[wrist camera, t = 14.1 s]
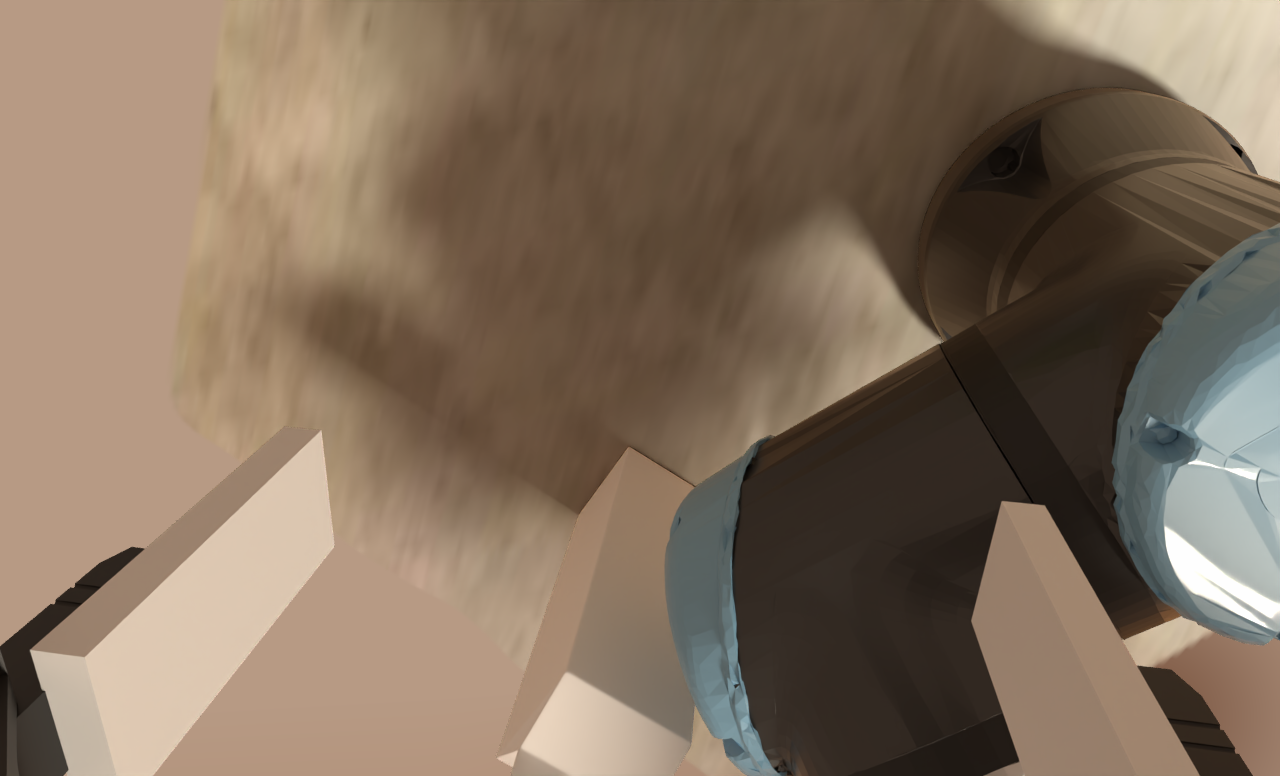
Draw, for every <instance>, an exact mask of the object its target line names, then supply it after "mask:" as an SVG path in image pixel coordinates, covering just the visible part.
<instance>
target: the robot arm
mask: <svg viewBox="0 0 1280 776" xmlns="http://www.w3.org/2000/svg"><path fill="white" fill-rule="evenodd" d="M918 277H919V284H920V289H921V293H922V297H923V300H924V303H925V306H926V309H927V311H928V313H929V315H930V318H931V320H932V321H933V323H934V325H935V327H936V328H937V330H938V332H939V334H940V335H941V337H942V339H943V340H944V342H943V343H941V345H940V344H937V345H936V346H934V347H932V348H930V349H929V350H927V351H925V352H923V353H922V354H920V355H918V356H916V357H915V358H913V359H911V360H909V361H908V362H906V363H904V364H902V365H900V366H899V367H897V368H895V369H893V370H892V371H890V372H888V373H886V374H885V375H883V376H881V377H879V378H878V379H876V380H874V381H872V382H871V383H869V384H867V385H865V386H864V387H862V388H860V389H858V390H857V391H855V392H853V393H851V394H850V395H848V396H846V397H844V398H842V399H841V400H839V401H837V402H835V403H834V404H832V405H830V406H828V407H827V408H825V409H823V410H821V411H820V412H818V413H816V414H814V415H813V416H811V417H809V418H807V419H806V420H804V421H802V422H800V423H799V424H797V425H795V426H793V427H792V428H790V429H788V430H786V431H784V432H783V433H781V434H779V435H777V436H776V437H774V436H771V435H769V436H767V437H764V438H762V439H760V440H758V441H757V442H756V443H754V444H753V445H752V446H750V448H749V449H748V450H747V451H746V453H745V454H744V455H743V456H742V457H740V458H739V459H737V460H735V461H734V462H732V463H731V464H729V465H728V466H726V467H725V468H723V469H722V470H720V471H719V472H717V473H715V474H714V475H712V476H711V477H709V478H708V479H706V480H705V481H703V482H702V483H700V484H699V485H697V486H696V487H695V488H694V489H693V490H691V491H690V493H689V494H688V495H687V496H686V497H685V498H684V500H683V501H682V502H681V504H680V506H679V507H678V509H677V511H676V513H675V516H674V519H673V522H672V525H671V528H670V539H669V541H668V543H667V546H666V552H665V565H664V577H665V594H666V604H667V611H668V618H669V622H670V627H671V632H672V636H673V641H674V645H675V648H676V652H677V656H678V660H679V663H680V666H681V669H682V672H683V675H684V678H685V681H686V684H687V686H688V689H689V691H690V694H691V696H692V699H693V701H694V703H695V705H696V707H697V709H698V711H699V713H700V715H701V717H702V719H703V721H704V723H705V724H706V726H707V728H708V730H709V731H710V733H711V735H712V736H713V737H715V738H718V739H723V744H724V749H725V753H726V756H727V757H728V758H729V760H730V761H731V762H732V763H733V764H734V765H735V766H736V767H737V768H738V769H739V770H740V771H741V772H743V773H744V774H745V775H747V776H1253V775H1252V774H1251V772H1250V771H1249V769H1248V768H1247V766H1246V764H1245V763H1244V761H1243V760H1242V758H1241V757H1240V755H1239V754H1235V747H1234V746H1233V744H1232V743H1231V741H1230V740H1229V738H1228V736H1227V735H1226V733H1225V732H1224V730H1220V724H1219V722H1218V721H1217V719H1216V718H1215V716H1214V715H1213V713H1212V712H1211V710H1210V708H1209V707H1208V705H1207V704H1206V702H1205V701H1204V699H1203V698H1202V696H1201V695H1200V694H1199V693H1197V692H1196V691H1195V690H1194V689H1193V688H1192V687H1191V686H1189V685H1188V684H1187V683H1186V682H1185V681H1184V680H1182V679H1181V678H1180V677H1179V676H1178V675H1176V673H1175V672H1173V671H1172V670H1169V669H1161V668H1153V667H1144V666H1137V665H1136V664H1135V662H1134V660H1133V658H1132V657H1131V655H1130V653H1129V651H1128V650H1127V648H1126V646H1125V644H1124V643H1123V641H1122V639H1124V640H1125V639H1126V638H1129V637H1131V636H1134V635H1136V634H1139V633H1141V632H1144V631H1146V630H1148V629H1151V628H1153V627H1156V626H1158V625H1161V624H1163V623H1165V622H1168V621H1171V620H1173V619H1176V618H1178V617H1180V616H1182V617H1184V618H1186V619H1189V620H1192V621H1195V622H1197V624H1198V625H1201V626H1203V627H1205V628H1207V629H1209V630H1211V631H1213V632H1215V633H1217V634H1219V635H1222V636H1224V637H1227V638H1230V639H1233V640H1236V641H1239V642H1241V643H1246V644H1252V645H1265V644H1267V643H1268V642H1269V641H1270V640H1272V639H1273V638H1275V639H1278V640H1280V182H1278V181H1275V180H1272V179H1269V178H1266V177H1263V176H1260V175H1258V174H1257V171H1256V169H1255V167H1254V165H1253V164H1252V162H1251V160H1250V158H1249V157H1248V155H1247V154H1246V152H1245V151H1244V149H1243V148H1242V146H1241V145H1240V144H1239V143H1238V141H1237V140H1236V139H1235V138H1234V137H1233V136H1232V135H1231V134H1230V133H1229V132H1228V131H1227V130H1226V129H1225V128H1224V127H1222V126H1221V125H1220V124H1219V123H1218V122H1216V121H1215V120H1213V119H1212V118H1210V117H1209V116H1207V115H1206V114H1204V113H1203V112H1201V111H1199V110H1197V109H1196V108H1194V107H1191V106H1189V105H1187V104H1185V103H1183V102H1180V101H1177V100H1174V99H1171V98H1167V97H1164V96H1160V95H1156V94H1152V93H1147V92H1143V91H1138V90H1132V89H1124V88H1089V89H1082V90H1075V91H1070V92H1065V93H1062V94H1058V95H1054V96H1051V97H1048V98H1045V99H1042V100H1040V101H1037V102H1035V103H1033V104H1030V105H1028V106H1026V107H1024V108H1022V109H1020V110H1018V111H1016V112H1014V113H1012V114H1011V115H1009V116H1007V117H1006V118H1004V119H1002V120H1001V121H999V122H998V123H997V124H995V125H994V126H992V127H991V128H990V129H988V130H987V131H986V132H985V133H983V134H982V135H981V136H980V137H979V138H978V139H976V140H975V141H974V142H973V143H972V144H971V145H970V146H969V147H968V148H967V149H966V150H965V151H964V152H963V153H962V154H961V156H960V157H959V158H958V159H957V160H956V161H955V163H954V164H953V165H952V167H951V168H950V169H949V171H948V172H947V174H946V175H945V177H944V178H943V180H942V181H941V183H940V185H939V187H938V188H937V190H936V192H935V194H934V196H933V198H932V200H931V202H930V205H929V207H928V210H927V213H926V215H925V219H924V222H923V225H922V230H921V234H920V239H919V247H918ZM333 548H334V537H333V529H332V520H331V511H330V502H329V493H328V485H327V476H326V467H325V458H324V449H323V441H322V432H321V430H315V429H305V428H296V427H286V426H285V427H283V428H282V429H281V430H280V431H279V432H278V433H277V434H275V435H274V436H273V437H272V438H271V439H270V440H269V441H267V442H266V443H265V444H264V445H263V446H262V447H261V448H259V449H258V450H257V451H256V452H255V453H254V454H253V455H251V456H250V457H249V458H248V459H247V460H246V461H245V462H243V463H242V464H241V465H240V466H239V467H238V468H237V469H236V470H234V472H232V473H231V474H230V475H229V476H228V477H227V478H225V479H224V480H223V481H222V482H221V483H220V484H219V485H217V486H216V487H215V488H214V489H213V490H212V491H210V492H209V493H208V494H207V495H206V496H205V497H204V498H203V499H201V500H200V501H199V502H198V503H197V504H196V505H195V506H193V507H192V508H191V509H190V510H189V511H188V512H187V513H185V514H184V515H183V516H182V517H181V518H180V519H179V520H177V521H176V522H175V523H174V524H173V525H172V526H171V527H169V528H168V529H167V530H166V531H165V532H164V533H163V534H162V535H160V536H159V537H158V538H157V539H156V540H155V541H154V542H152V543H151V544H150V545H149V546H148V547H147V548H146V549H143V548H135V547H131V548H129V549H127V550H125V551H123V552H121V553H119V554H117V555H115V556H113V557H111V558H109V559H107V560H105V561H103V562H101V563H99V564H98V565H97V566H96V567H94V568H93V569H92V570H91V571H90V572H88V573H87V574H86V575H85V576H83V577H82V578H81V579H80V580H79V581H78V582H77V583H75V587H74V588H70V589H68V590H67V591H66V592H64V593H63V594H62V595H61V596H60V597H58V598H57V599H56V602H55V604H50V605H49V606H48V607H47V608H45V609H44V610H43V611H42V612H41V613H39V614H38V615H37V616H36V617H35V618H33V620H31V621H30V622H29V623H27V624H26V625H25V626H24V627H23V628H21V629H20V630H19V631H18V632H17V633H15V634H14V635H13V636H12V637H11V638H10V639H9V640H7V641H6V642H5V643H4V644H2V645H1V646H0V776H63V775H64V774H65V773H66V772H67V774H68V776H153V775H154V774H155V772H156V771H157V770H158V769H159V767H160V766H161V765H162V764H163V762H164V761H165V760H166V758H167V757H168V756H169V754H170V753H171V752H172V751H173V750H174V748H175V747H176V746H177V745H178V743H179V742H180V741H181V740H182V738H183V737H184V736H185V735H186V733H187V732H188V731H189V730H190V728H191V727H192V726H193V724H194V723H195V722H196V721H197V719H198V718H199V717H200V716H201V714H202V713H203V712H204V711H205V709H206V708H207V707H208V705H209V704H210V703H211V702H212V700H213V699H214V698H215V696H216V695H217V694H218V693H219V691H220V690H221V689H222V688H223V686H224V685H225V684H226V683H227V681H228V680H229V679H230V678H231V676H232V675H233V674H234V673H235V671H236V670H237V669H238V668H239V666H240V665H241V664H242V663H243V661H244V660H245V659H246V658H247V656H248V655H249V654H250V652H251V651H252V650H253V649H254V647H255V646H256V645H257V644H258V642H259V641H260V640H261V639H262V637H263V636H264V635H265V634H266V632H267V631H268V630H269V628H270V627H271V626H272V625H273V623H274V622H275V621H276V619H277V618H278V617H279V616H280V615H281V613H282V612H283V611H284V610H285V608H286V607H287V606H288V605H289V603H290V602H291V601H292V599H293V598H294V597H295V596H296V594H297V593H298V592H299V591H300V589H301V588H302V587H303V586H304V584H305V583H306V582H307V580H308V579H309V578H310V577H311V575H312V574H313V573H314V572H315V570H316V569H317V568H318V567H319V565H320V564H321V563H322V562H323V560H324V559H325V558H326V557H327V555H328V554H329V553H330V551H331V550H332V549H333Z"/></svg>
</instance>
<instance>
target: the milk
mask: <svg viewBox="0 0 1280 776" xmlns="http://www.w3.org/2000/svg"><path fill="white" fill-rule="evenodd" d="M694 488H695V487H694V486H692V485H690V484H689V483H687V482H686V481H684V480H682V479H681V478H679V477H678V476H676V475H674V474H673V473H671V472H669V471H668V470H666V469H665V468H663V467H661V466H660V465H658V464H656V463H655V462H653V461H652V460H650V459H648V458H647V457H645V456H644V455H642V454H640V453H639V452H637V451H635V450H634V449H632V448H631V447H628V448H627V449H626V451H625V452H624V454H623V455H622V456H621V458H620V459H619V460H618V462H617V463H616V465H615V466H614V467H613V469H612V470H611V471H610V473H609V474H608V475H607V477H606V478H605V480H604V481H603V482H602V484H601V485H600V486H599V488H598V489H597V490H596V492H595V493H594V495H593V496H592V497H591V499H590V500H589V501H588V503H587V504H586V506H585V507H584V508H583V510H582V511H581V512H580V514H579V515H578V518H577V521H576V524H575V527H574V530H573V533H572V536H571V539H570V541H569V544H568V547H567V550H566V553H565V556H564V559H563V562H562V565H561V568H560V571H559V574H558V577H557V580H556V583H555V586H554V588H553V591H552V594H551V597H550V600H549V603H548V606H547V609H546V612H545V615H544V618H543V621H542V624H541V627H540V630H539V633H538V635H537V638H536V641H535V644H534V647H533V650H532V653H531V656H530V659H529V662H528V665H527V668H526V671H525V674H524V677H523V680H522V682H521V685H520V688H519V691H518V694H517V697H516V700H515V703H514V706H513V709H512V712H511V715H510V718H509V721H508V724H507V726H506V729H505V733H504V736H503V738H502V741H501V744H500V747H499V750H498V753H497V756H496V758H497V759H499V760H500V761H502V762H504V763H506V764H508V765H509V766H511V767H513V768H512V772H511V776H674V775H675V773H676V771H677V769H678V767H679V766H680V764H681V762H682V761H683V759H684V757H685V755H686V754H687V752H688V750H689V748H690V746H691V742H692V731H693V719H694V708H695V703H694V701H693V699H692V696H691V694H690V691H689V689H688V686H687V684H686V681H685V678H684V675H683V672H682V669H681V666H680V663H679V660H678V656H677V652H676V648H675V645H674V641H673V636H672V632H671V627H670V622H669V618H668V611H667V604H666V594H665V577H664V565H665V552H666V546H667V543H668V541H669V539H670V528H671V525H672V522H673V519H674V516H675V513H676V511H677V509H678V507H679V506H680V504H681V502H682V501H683V500H684V498H685V497H686V496H687V495H688V494H689V493H690V491H691V490H693V489H694Z"/></svg>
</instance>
